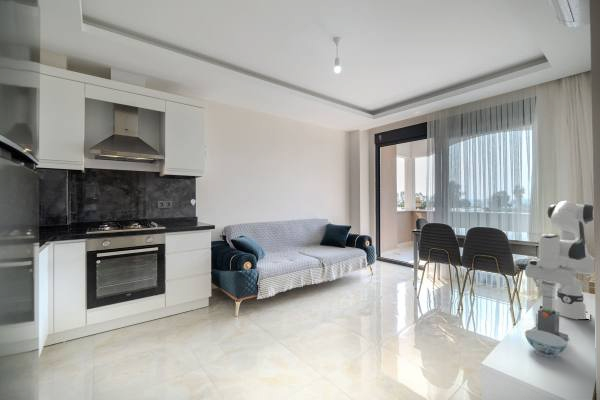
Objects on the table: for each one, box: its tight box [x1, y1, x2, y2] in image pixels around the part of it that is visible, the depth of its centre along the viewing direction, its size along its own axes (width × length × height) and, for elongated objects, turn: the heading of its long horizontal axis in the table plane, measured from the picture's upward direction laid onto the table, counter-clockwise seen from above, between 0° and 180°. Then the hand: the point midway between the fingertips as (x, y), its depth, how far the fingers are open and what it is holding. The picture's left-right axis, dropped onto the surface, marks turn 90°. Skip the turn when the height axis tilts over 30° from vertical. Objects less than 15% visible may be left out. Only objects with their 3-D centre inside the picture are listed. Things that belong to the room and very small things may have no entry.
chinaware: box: [524, 329, 568, 358], centre depth 131 cm, size 15×15×8 cm
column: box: [541, 280, 557, 314], centre depth 147 cm, size 5×5×22 cm
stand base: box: [530, 308, 569, 341], centre depth 147 cm, size 13×13×14 cm
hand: (548, 289), depth 147 cm, fingers open, 8 cm apart
